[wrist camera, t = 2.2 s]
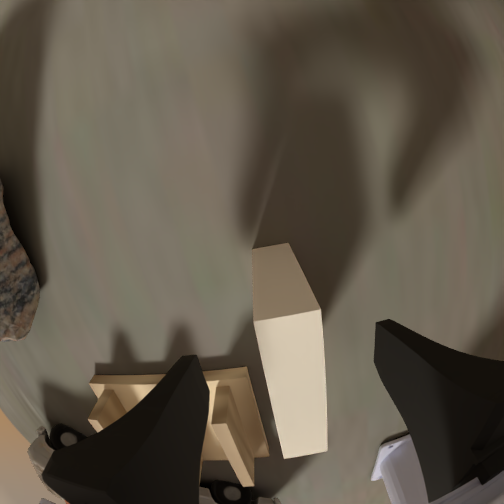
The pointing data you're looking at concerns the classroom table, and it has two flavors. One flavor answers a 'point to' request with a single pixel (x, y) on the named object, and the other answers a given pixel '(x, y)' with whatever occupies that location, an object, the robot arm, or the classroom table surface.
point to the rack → (219, 419)
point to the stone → (15, 283)
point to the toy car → (222, 492)
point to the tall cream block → (290, 349)
